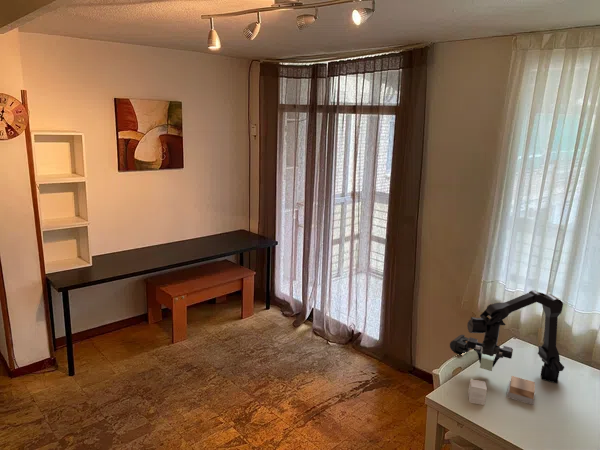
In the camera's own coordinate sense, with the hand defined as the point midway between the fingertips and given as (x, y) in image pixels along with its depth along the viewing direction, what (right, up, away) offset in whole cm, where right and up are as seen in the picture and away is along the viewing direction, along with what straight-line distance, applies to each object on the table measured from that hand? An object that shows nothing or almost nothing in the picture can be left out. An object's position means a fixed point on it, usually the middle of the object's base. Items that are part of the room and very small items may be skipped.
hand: (486, 364), depth 203 cm
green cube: (0, -1, 0) cm, 1 cm away
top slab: (+10, -7, -12) cm, 17 cm away
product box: (-11, -10, -16) cm, 22 cm away
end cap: (-4, 0, +24) cm, 24 cm away
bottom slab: (+10, -10, -11) cm, 18 cm away
